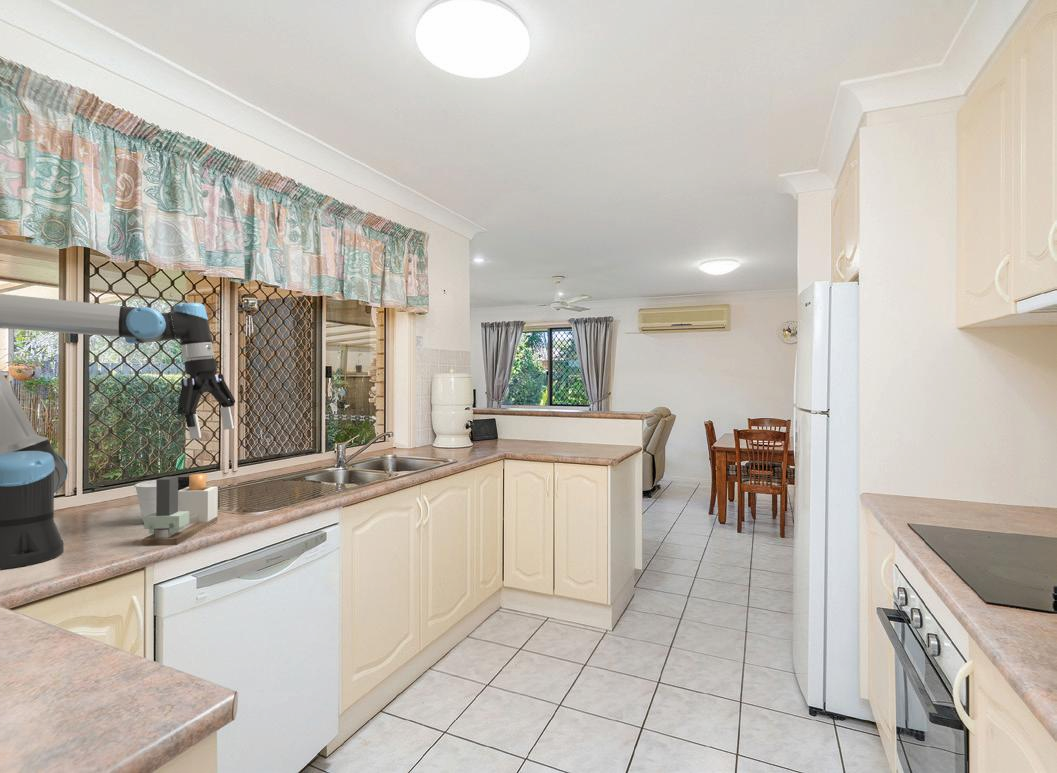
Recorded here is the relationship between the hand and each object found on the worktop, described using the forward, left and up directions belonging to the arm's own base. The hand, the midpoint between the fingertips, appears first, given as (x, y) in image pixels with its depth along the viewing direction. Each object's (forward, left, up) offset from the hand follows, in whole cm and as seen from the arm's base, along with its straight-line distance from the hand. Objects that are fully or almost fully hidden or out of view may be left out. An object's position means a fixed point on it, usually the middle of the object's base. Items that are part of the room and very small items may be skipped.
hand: (213, 433), depth 151 cm
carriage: (-3, -17, -23) cm, 29 cm away
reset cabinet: (-3, -2, -24) cm, 24 cm away
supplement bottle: (-11, +8, -25) cm, 29 cm away
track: (-3, -10, -25) cm, 27 cm away
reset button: (-3, -2, -16) cm, 17 cm away
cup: (-16, +3, -25) cm, 30 cm away
